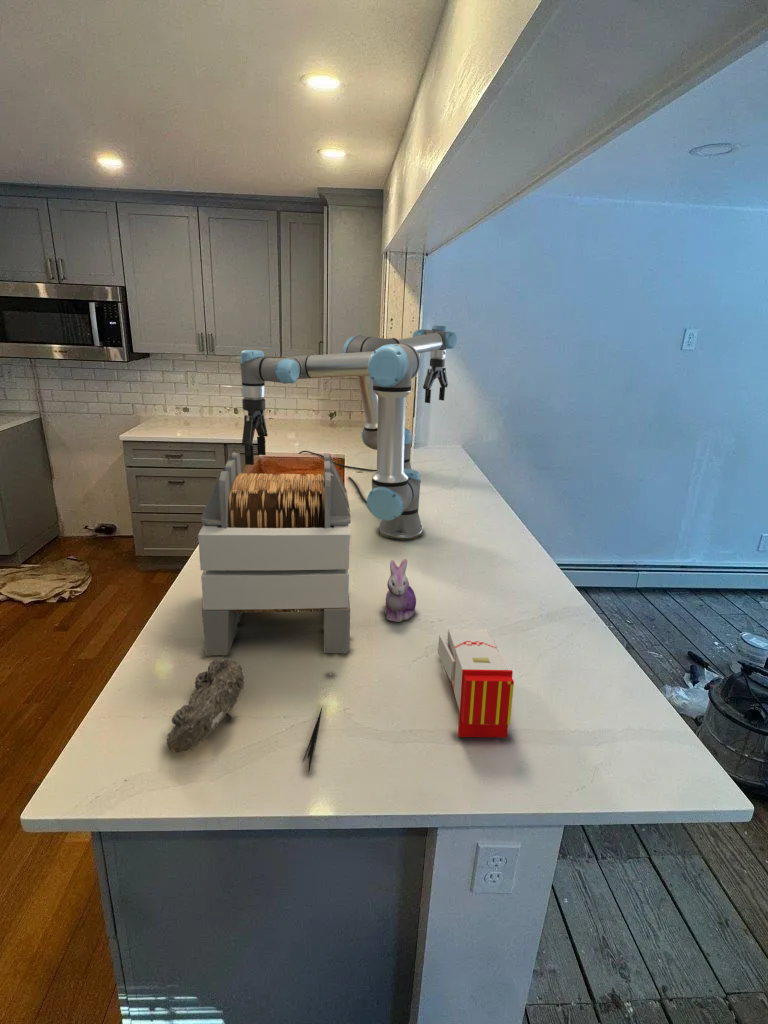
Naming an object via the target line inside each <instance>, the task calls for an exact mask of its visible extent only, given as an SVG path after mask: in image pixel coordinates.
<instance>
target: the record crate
mask: <svg viewBox="0 0 768 1024" xmlns="http://www.w3.org/2000/svg"><path fill="white" fill-rule="evenodd" d="M323 456H324V458H323V473H322V474H321V473H318V474H316V475H315V474H314V473H306V474H303V475H302V474H301V473H280V474H273V473H244V472H243V473H242V466H241V463H242V462H241V453H240V452H235V451H233V452H231V455H230V457H229V459H227V460H226V463H225V466H224V468H223V470H222V471H220V474H219V475H218V477H217V479H216V482H215V483H214V486H213V489H212V491H211V494H210V495H209V498H208V499H207V502H206V505H205V507H204V509H203V511H202V514H201V517H200V520H201V524H202V527H201V529H200V530H199V532H198V535H197V538H198V550H199V552H198V553H199V563H200V565H199V567H200V571H202V573H201V575H200V580H201V581H200V582H201V594H202V605H203V607H202V609H201V610H202V611H201V617H202V629H203V638H204V639H203V640H204V649H205V650H204V651H205V652H204V655H205V656H206V657H212V656H228V654H229V652H230V650H231V647H232V645H233V643H234V640H235V638H236V635H237V632H238V623H240V620H241V617H242V614H244V613H250V614H251V613H253V614H254V613H257V614H258V613H298V612H301V613H302V612H308V613H309V612H322V614H323V654H344V655H346V654H347V653H349V652H350V639H351V604H350V595H349V594H350V593H349V586H350V585H349V584H350V572H349V571H350V570H349V569H350V549H351V548H350V547H351V545H350V542H351V533H350V532H351V531H350V526H349V525H350V524H351V520H352V516H351V515H352V514H351V509H350V502H349V496H348V490H347V488H346V486H345V484H344V482H343V480H342V478H341V474H340V473H339V471H338V469H337V465H336V464H334V462H335V461H334V460H333V458H332V455H331V454H330V453H326V452H324V453H323Z"/></svg>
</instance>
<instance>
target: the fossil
mask: <svg viewBox="0 0 768 1024" xmlns="http://www.w3.org/2000/svg"><path fill="white" fill-rule="evenodd" d="M243 670H244V669H243V667H242V665H240V664H237V662H236V661H235V660H234V659H232V658H231V659H227V658H226V659H224V660H223V661H222V660H217V659H212V660H211V661H210V663H209V665H208V666H207V671H201V672H199V673H198V674H197V675H196V676H195V680H194V684H195V685H194V687H195V689H194V690H193V693H192V694H191V697H190V698H189V700H188V704H184V705H182V706H181V707H180V709H177V710H176V711H175V713H174V715H173V716H172V718H171V723H172V724H173V727H172V730H171V731H170V732H168V734H167V738H166V741H167V742H166V745H167V749H168V750H169V751H173V752H174V753H176V754H178V753H182V752H188V751H189V752H192V751H193V750H195V748H196V747H197V746H199V744H200V743H201V742H203V741H204V740H205V739H206V738H207V737H208V736H209V735H210V734H211V733H212V732H214V730H215V729H217V727H218V726H219V724H220V722H221V721H222V720H223V719H224V718H225V716H226V717H227V719H229V720H233V717H232V715H230V714H229V710H230V709H231V708H234V706H235V704H236V703H237V702H238V699H239V697H240V695H241V693H242V691H243V690H245V689H244V688H245V675H244V671H243Z"/></svg>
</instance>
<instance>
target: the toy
mask: <svg viewBox="0 0 768 1024" xmlns="http://www.w3.org/2000/svg"><path fill="white" fill-rule="evenodd" d="M446 640H447V643H446V641H445V639H444V636H443V635H442V634H439V637H438V646H437V656H438V657H439V659H440V661H441V663H442V666H443V668H444V670H445V672H446V674H447V677H448V679H449V681H450V684H451V687H452V690H453V693H454V697H455V701H456V705H457V708H458V711H459V714H458V715H459V716H458V730H457V731H458V732H457V737H458V738H508V731H509V726H510V725H511V717H512V707H513V697H514V696H513V695H514V684H515V680H514V679H513V673H514V671H513V670H512V669H508V667H507V665H506V662H505V661H504V659H503V658H502V655H501V653H500V651H499V649H498V647H497V643H496V639H495V637H494V635H493V634H491V632H490V631H489V629H467V628H466V629H465V628H463V629H461V628H460V629H459V628H448V630H447V639H446Z"/></svg>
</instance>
